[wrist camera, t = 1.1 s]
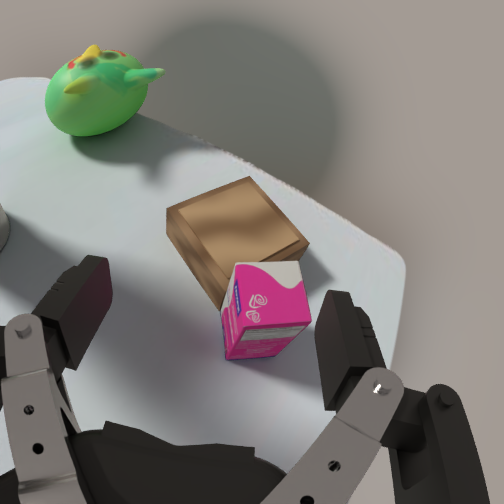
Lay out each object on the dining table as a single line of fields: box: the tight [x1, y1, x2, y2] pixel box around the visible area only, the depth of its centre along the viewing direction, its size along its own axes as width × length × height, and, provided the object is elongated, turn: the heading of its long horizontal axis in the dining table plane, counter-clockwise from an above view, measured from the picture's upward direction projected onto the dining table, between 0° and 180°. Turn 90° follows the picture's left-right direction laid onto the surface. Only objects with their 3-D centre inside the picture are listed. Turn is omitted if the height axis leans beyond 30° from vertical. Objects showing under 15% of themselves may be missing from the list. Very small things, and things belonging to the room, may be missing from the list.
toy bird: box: [45, 45, 165, 136], centre depth 42 cm, size 18×17×15 cm
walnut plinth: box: [166, 176, 310, 311], centre depth 38 cm, size 12×12×5 cm
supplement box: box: [220, 261, 312, 360], centre depth 30 cm, size 6×6×12 cm
